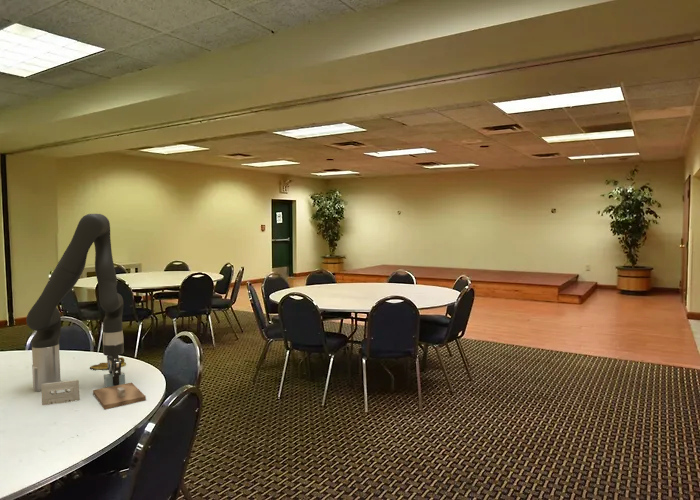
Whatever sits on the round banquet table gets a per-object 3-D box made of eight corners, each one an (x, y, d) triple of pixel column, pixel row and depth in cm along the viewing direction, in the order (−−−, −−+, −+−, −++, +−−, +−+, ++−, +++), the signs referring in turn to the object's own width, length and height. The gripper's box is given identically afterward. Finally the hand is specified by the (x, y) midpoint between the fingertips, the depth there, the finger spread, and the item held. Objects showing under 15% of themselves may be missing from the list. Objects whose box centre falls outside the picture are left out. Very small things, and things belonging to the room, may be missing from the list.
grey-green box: (106, 387, 193) (106, 376, 193) (104, 384, 197) (103, 374, 196) (125, 383, 197) (124, 373, 197) (122, 380, 201) (121, 370, 201)
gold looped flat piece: (88, 375, 214) (125, 370, 220) (88, 365, 214) (125, 360, 220) (90, 367, 223) (126, 362, 229) (90, 357, 222) (125, 353, 228)
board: (104, 409, 171) (103, 397, 171) (93, 393, 187) (92, 383, 186) (145, 400, 179) (145, 388, 179) (131, 386, 195) (131, 375, 195)
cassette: (79, 399, 181) (79, 379, 181) (79, 400, 180) (78, 380, 179) (42, 404, 177) (41, 383, 176) (41, 405, 175) (40, 385, 175)
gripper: (99, 340, 199) (100, 380, 200) (107, 347, 188) (108, 390, 189) (119, 337, 204) (120, 377, 205) (127, 344, 192) (128, 386, 193)
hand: (114, 383), depth 197 cm, fingers closed on grey-green box, 4 cm apart
